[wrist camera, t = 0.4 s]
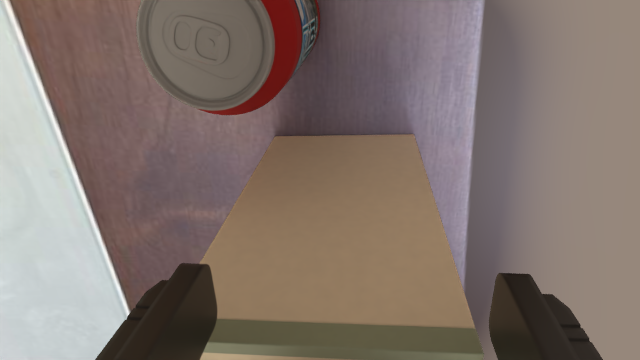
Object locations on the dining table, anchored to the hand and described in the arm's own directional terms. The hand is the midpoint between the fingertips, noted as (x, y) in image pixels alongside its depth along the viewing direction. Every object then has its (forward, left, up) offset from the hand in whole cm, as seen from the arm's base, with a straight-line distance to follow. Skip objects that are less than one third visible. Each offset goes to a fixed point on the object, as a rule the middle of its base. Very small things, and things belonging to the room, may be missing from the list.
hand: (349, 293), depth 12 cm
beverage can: (+6, +6, -19) cm, 21 cm away
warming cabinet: (-8, +1, -19) cm, 20 cm away
